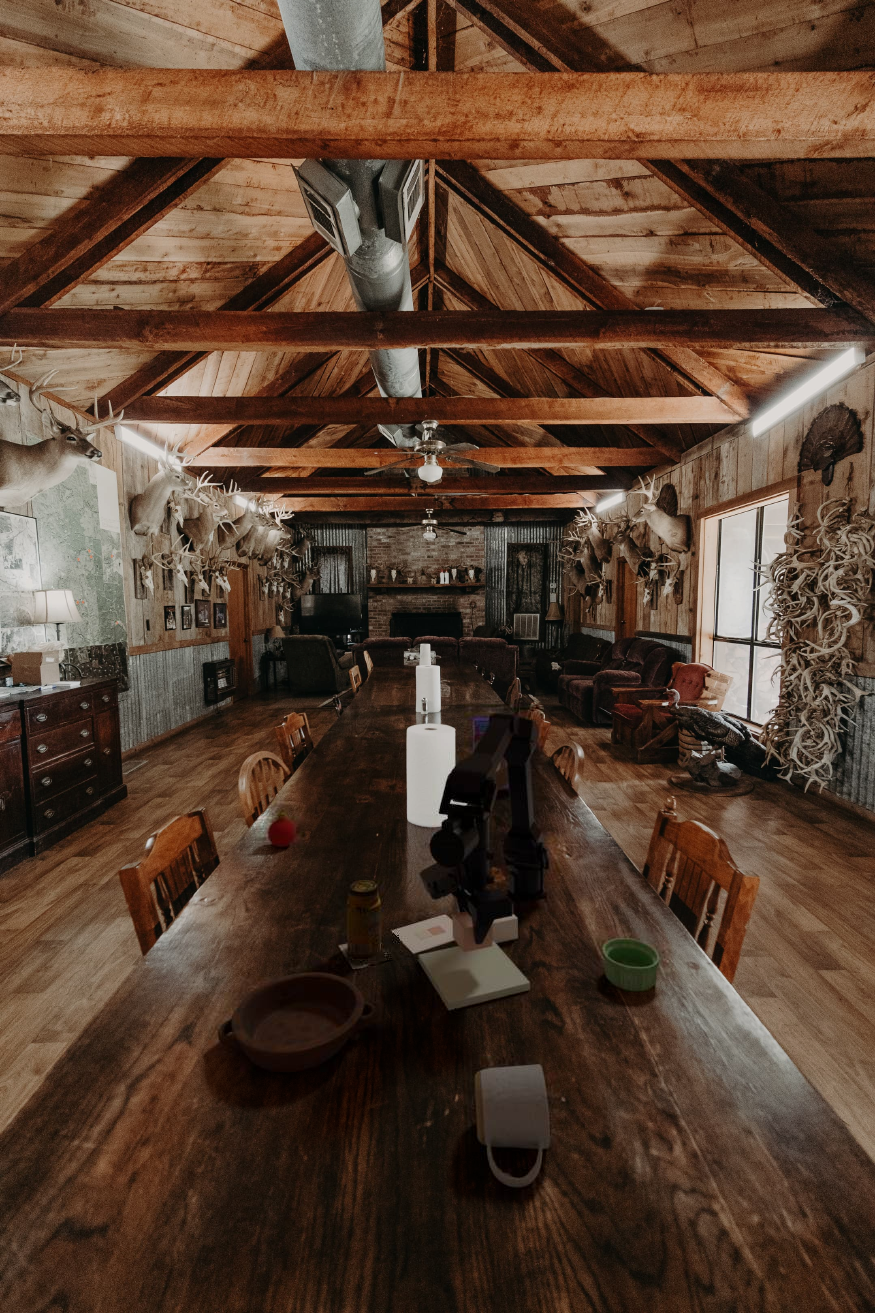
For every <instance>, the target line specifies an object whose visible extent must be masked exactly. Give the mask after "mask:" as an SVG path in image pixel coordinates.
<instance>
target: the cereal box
mask: <svg viewBox="0 0 875 1313" xmlns="http://www.w3.org/2000/svg"><path fill="white" fill-rule="evenodd" d="M488 724H489V718H479V717H478V718H477V717H476V718H473V719H472V752H473V751H474V749H475V747H476V746H477V744H478V742H479V740H480V738H481V737H482V735H483V733H484V731H485V729H486V728H487V726H488ZM495 777H496V782H497V785H498V788H509V784H508V770H507V762H506V760H505V759H504V758H503V757H502V759H501V761H500V763H499V765H498V767H497V769H496V771H495Z"/></svg>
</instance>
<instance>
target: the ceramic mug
mask: <svg viewBox="0 0 875 1313" xmlns="http://www.w3.org/2000/svg"><path fill="white" fill-rule="evenodd" d="M474 1091H475V1092H474V1096H475V1112H476V1116H475V1117H476V1132H477V1135H476V1136H477V1139H478V1141H479V1142H480V1144H481V1145H484V1146H486V1155H487V1159H488V1162H489V1164H488V1165H489V1167H490V1168H491V1171H492V1173H493V1175H494V1177H495V1179H497V1180H498V1181H499V1182H501V1183H502V1184H504V1185H506V1186H508V1187H511V1188H512V1187H513V1188H523V1187H524V1188H525V1187H526V1186H528V1185H530V1184H531V1183H533V1182H534V1180H535V1179H536V1178H537V1176H538V1174H539V1172H540V1170H541V1165H542V1159H543V1150H546V1149H549V1148H550V1144H551V1142H550V1140H551V1129H550V1116H549V1115H550V1114H549V1112H550V1111H549V1105H548V1104H549V1103H548V1097H547V1088H546V1081H545V1075H544V1072H543V1067H542V1066H541V1064H539V1063H537V1064H528V1065H527V1064H526V1065H515V1066H513V1065H512V1066H502V1067H501V1066H500V1067H489V1068H484V1069H482V1070H479V1071H477V1072H476V1074H475V1076H474ZM492 1147H493V1148H518V1149H537V1151H538V1152H537V1156H536V1161H535V1162H534V1165H533V1166H532V1168H531V1170H529V1171H528V1173H527V1174H526V1175H524V1176H522V1177H514V1176H513V1175H511V1174H510V1173H508V1172H503V1170H502V1169H500V1168H499V1167H498V1166H497V1164H496V1162H495V1160H494V1158H493V1153H492V1152H493V1151H492Z"/></svg>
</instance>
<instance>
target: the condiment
mask: <svg viewBox="0 0 875 1313" xmlns="http://www.w3.org/2000/svg"><path fill="white" fill-rule="evenodd" d="M381 902H382V901H381V899H380V896H379V885H378V883H377V882H375V881H373V880H366V879H365V880H358V881H355V882H352V884H351V885H349V887H348V900H347V902H346V938H347V939H346V940H347V942H346V943H344V944H339V945H338V948H339V949H340V951H341V952H342V954H343V956H344V957H345V959H346V960H347V962H348V965H350V966H351V969H352V970H356V969H357V970H358V969H364V968H367V966H368V965H369V964H367V965H366V964H362V963H364V962H363V961H364V960H362V961H359V960H356V961H358V962H360V963H358V962H356V961H354V960H352V958H353V959H368V958H371V957H373V956H375V955H377V954H378V953H379V952H380V950H381V944H382V905H381ZM385 954H387V953H385ZM385 956H386V955H385ZM350 957H352V958H350ZM366 961H367V960H366ZM361 965H363V966H361ZM368 967H369V966H368Z"/></svg>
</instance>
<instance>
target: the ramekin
mask: <svg viewBox="0 0 875 1313" xmlns="http://www.w3.org/2000/svg"><path fill="white" fill-rule="evenodd" d="M602 956H603V963H604V964H603V965H604V974H605V977H606V978H607V980H608V981H609V982H610V983H611V984H612V985H614V986H616V987H617V988H620V989H622V990H625V991H628V992H645V991H647V990H650V989H652V988H653V987H654V986H655V984H656V982H657V973H658V966H659V963H660V955H659V952H658V951H657V950H656V949H655V948H654V947H653V946H651V945H650V944H648V943H647V942H644V941H641V940H638V939H633V938H627V937H626V938H624V937H619V938H613V939H610V940H607V941H606V942H604V944H603V946H602Z"/></svg>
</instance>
